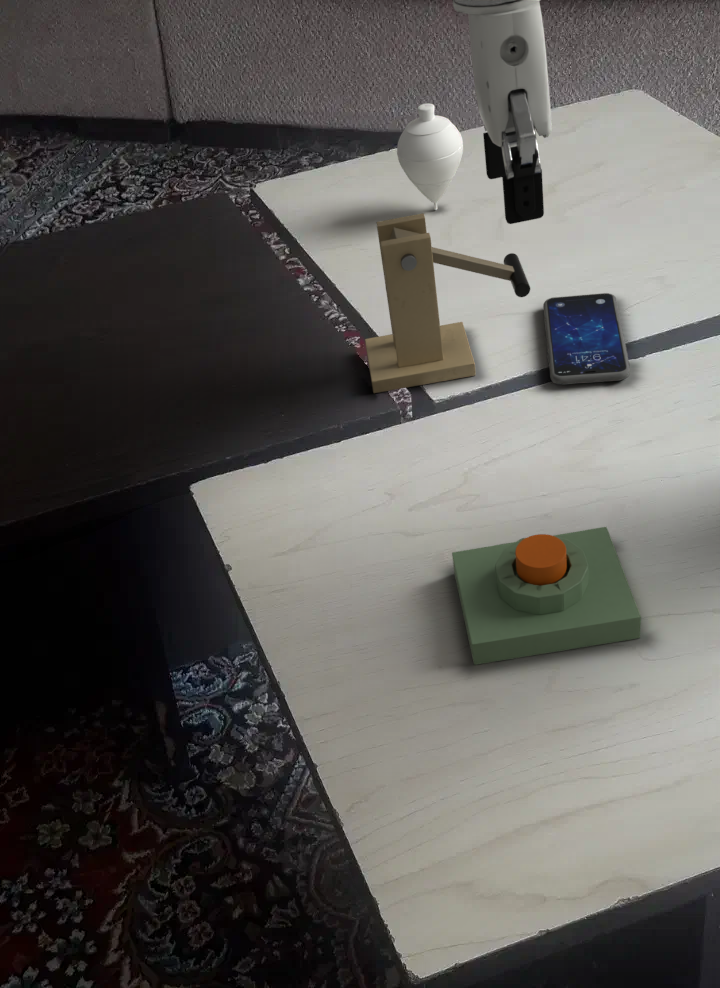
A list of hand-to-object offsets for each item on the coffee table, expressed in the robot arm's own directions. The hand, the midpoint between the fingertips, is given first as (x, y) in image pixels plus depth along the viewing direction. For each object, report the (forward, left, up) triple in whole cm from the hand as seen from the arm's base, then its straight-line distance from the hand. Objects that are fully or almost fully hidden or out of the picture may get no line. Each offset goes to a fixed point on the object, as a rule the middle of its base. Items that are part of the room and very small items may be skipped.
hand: (514, 196), depth 94 cm
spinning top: (+4, -33, -15) cm, 37 cm away
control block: (+5, +36, -15) cm, 39 cm away
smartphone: (-6, +1, -15) cm, 16 cm away
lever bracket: (+10, 0, -15) cm, 18 cm away
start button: (+5, +36, -11) cm, 38 cm away
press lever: (+6, 0, -6) cm, 9 cm away
